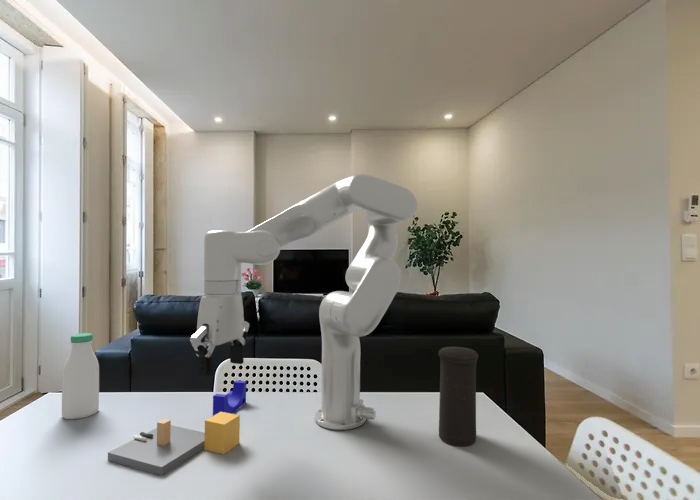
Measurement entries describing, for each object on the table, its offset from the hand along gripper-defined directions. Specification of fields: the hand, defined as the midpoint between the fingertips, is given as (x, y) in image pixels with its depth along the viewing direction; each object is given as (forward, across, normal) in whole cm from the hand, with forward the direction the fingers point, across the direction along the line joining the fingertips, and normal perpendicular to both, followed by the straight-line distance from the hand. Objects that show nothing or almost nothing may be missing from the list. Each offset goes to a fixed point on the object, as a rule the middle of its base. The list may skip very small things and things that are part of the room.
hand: (222, 369), depth 83 cm
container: (+17, -23, +46) cm, 54 cm away
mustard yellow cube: (+16, 0, 0) cm, 16 cm away
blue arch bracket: (+17, -16, -11) cm, 26 cm away
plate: (+16, +6, -10) cm, 20 cm away
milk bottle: (+16, 0, -44) cm, 47 cm away
